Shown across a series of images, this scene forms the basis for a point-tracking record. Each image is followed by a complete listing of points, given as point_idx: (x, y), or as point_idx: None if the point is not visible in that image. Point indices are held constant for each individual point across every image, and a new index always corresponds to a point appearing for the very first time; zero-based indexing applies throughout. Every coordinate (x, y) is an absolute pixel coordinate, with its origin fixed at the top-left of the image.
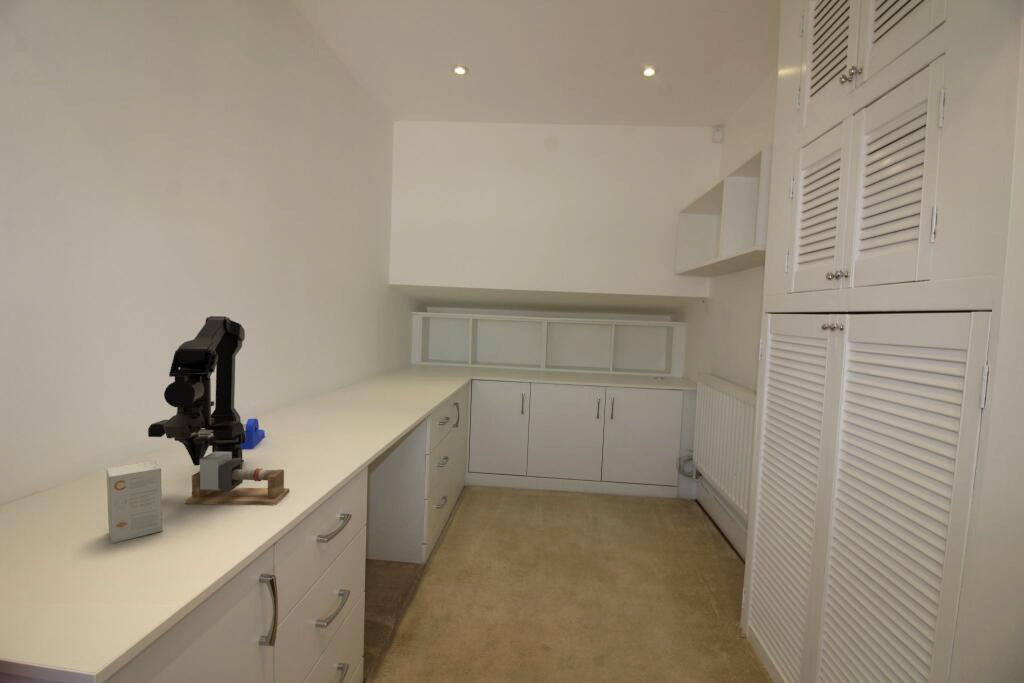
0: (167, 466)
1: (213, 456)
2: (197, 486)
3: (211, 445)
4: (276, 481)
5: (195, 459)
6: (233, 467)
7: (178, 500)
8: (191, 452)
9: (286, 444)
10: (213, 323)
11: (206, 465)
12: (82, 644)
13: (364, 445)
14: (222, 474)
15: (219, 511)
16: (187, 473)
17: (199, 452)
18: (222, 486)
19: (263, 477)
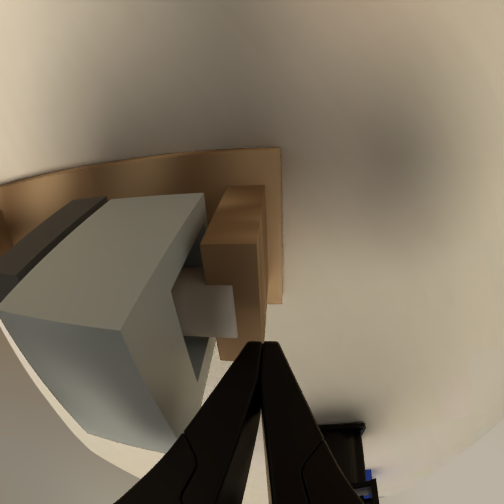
0: (459, 409)
1: (86, 384)
2: (227, 209)
3: (364, 482)
4: None
5: (255, 379)
6: None
7: (338, 188)
8: (284, 442)
9: (259, 486)
10: None
11: (89, 280)
12: None
13: (119, 463)
14: (40, 241)
15: (79, 94)
16: (409, 395)
17: (188, 437)
18: (82, 207)
19: None
